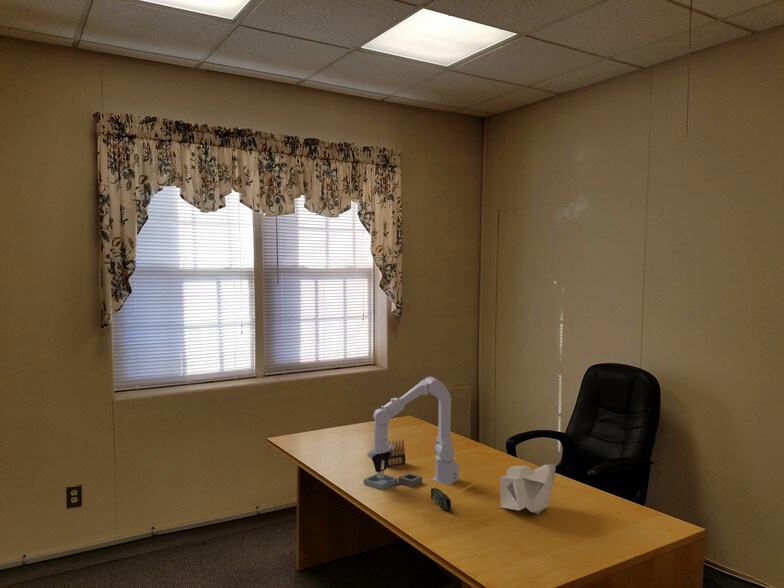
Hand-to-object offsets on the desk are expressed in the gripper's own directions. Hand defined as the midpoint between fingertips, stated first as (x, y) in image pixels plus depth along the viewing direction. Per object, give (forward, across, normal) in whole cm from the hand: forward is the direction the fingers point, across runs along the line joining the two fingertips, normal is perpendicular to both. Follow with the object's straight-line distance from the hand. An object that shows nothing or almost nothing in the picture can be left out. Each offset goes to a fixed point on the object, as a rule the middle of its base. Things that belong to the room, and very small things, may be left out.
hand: (380, 470), depth 241 cm
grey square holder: (+6, -8, +9) cm, 14 cm away
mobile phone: (+6, +2, +32) cm, 32 cm away
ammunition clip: (+6, -22, -10) cm, 24 cm away
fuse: (+3, 0, 0) cm, 3 cm away
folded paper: (+6, -18, +60) cm, 63 cm away
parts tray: (+6, 0, 0) cm, 6 cm away
